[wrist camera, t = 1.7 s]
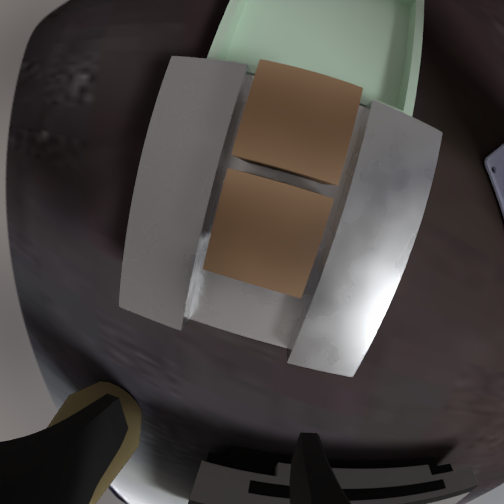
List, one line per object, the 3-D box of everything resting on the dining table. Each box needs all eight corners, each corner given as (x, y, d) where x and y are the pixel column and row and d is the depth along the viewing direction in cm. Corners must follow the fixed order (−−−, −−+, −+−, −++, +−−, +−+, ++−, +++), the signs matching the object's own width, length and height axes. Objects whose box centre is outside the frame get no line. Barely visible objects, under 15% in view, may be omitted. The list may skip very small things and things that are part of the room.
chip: (297, 268, 15) (301, 298, 11) (224, 246, 15) (202, 269, 11) (321, 194, 14) (334, 198, 10) (243, 171, 14) (227, 168, 10)
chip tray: (398, 129, 15) (410, 124, 13) (212, 76, 15) (203, 65, 14) (414, 8, 12) (424, -4, 10) (257, -35, 13) (254, -50, 11)
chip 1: (323, 184, 14) (338, 185, 10) (246, 162, 14) (230, 154, 10) (343, 111, 13) (363, 87, 9) (267, 89, 13) (259, 59, 9)
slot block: (341, 338, 19) (352, 377, 14) (151, 281, 19) (118, 306, 15) (408, 141, 15) (442, 132, 11) (197, 81, 16) (171, 55, 11)
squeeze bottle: (73, 374, 24) (-25, 480, 6) (122, 366, 22) (7, 513, 5) (114, 428, 25) (44, 538, 8) (167, 427, 23) (98, 571, 6)
